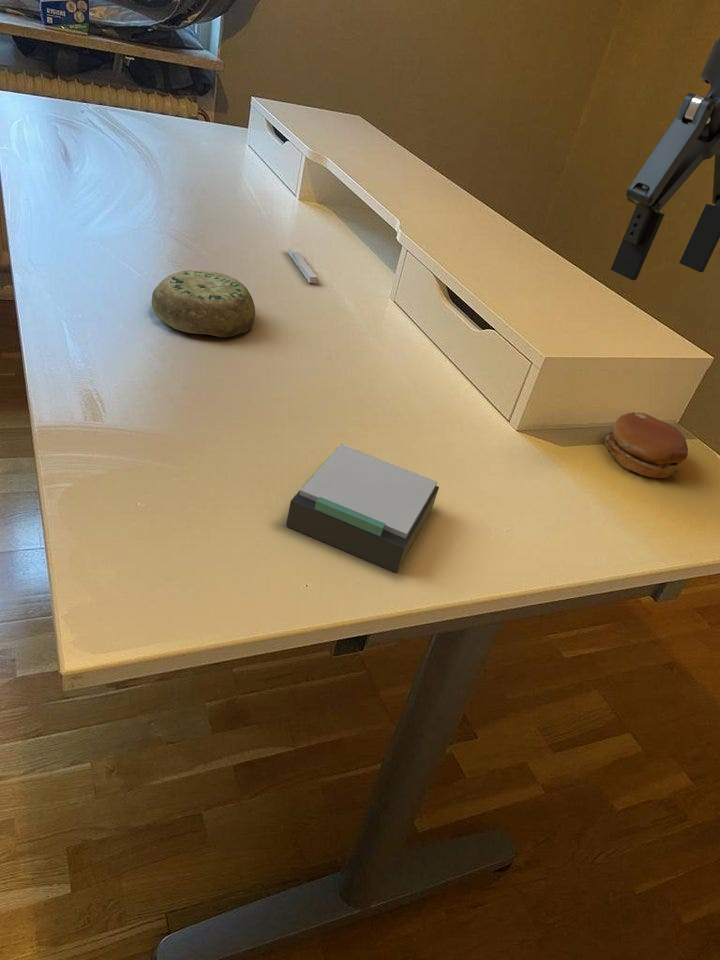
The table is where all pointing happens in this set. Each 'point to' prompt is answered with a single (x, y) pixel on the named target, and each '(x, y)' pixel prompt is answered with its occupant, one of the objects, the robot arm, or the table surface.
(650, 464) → the burger
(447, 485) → the table surface
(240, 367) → the table surface
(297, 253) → the light grey bar
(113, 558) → the table surface
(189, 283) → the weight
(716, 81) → the robot arm
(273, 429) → the table surface
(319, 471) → the scale
